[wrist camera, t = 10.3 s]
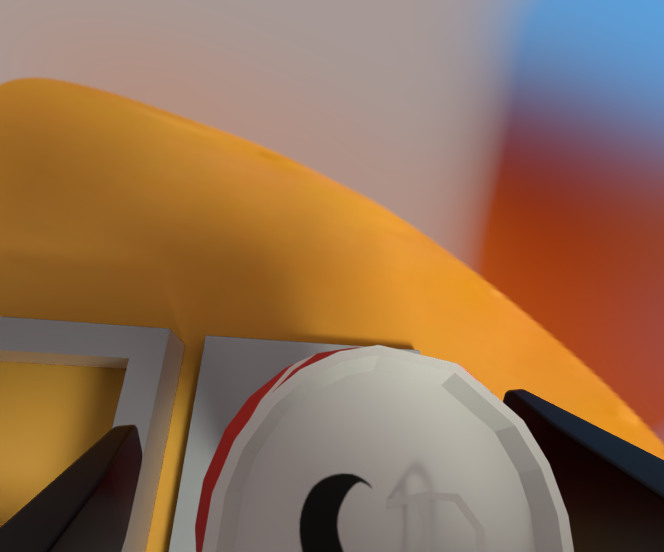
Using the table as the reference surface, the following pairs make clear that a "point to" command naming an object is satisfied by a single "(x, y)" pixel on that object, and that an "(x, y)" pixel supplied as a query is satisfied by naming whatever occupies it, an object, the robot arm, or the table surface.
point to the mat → (227, 409)
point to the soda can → (379, 464)
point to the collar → (137, 391)
